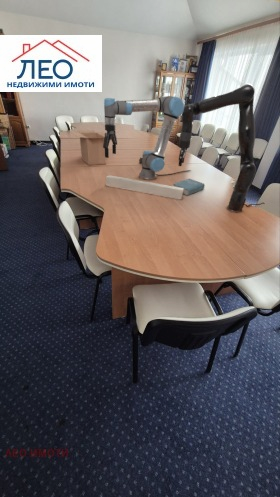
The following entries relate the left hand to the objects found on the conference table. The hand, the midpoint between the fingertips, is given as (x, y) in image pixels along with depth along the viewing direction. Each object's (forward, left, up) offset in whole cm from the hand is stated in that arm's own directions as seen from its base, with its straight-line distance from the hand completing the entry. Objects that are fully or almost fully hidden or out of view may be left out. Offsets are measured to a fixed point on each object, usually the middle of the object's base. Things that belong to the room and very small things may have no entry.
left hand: (110, 155), depth 170 cm
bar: (-26, +11, -24) cm, 37 cm away
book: (-65, +6, -24) cm, 69 cm away
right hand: (-50, +22, +1) cm, 55 cm away
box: (+19, -69, -24) cm, 76 cm away
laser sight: (-41, -64, -24) cm, 79 cm away
